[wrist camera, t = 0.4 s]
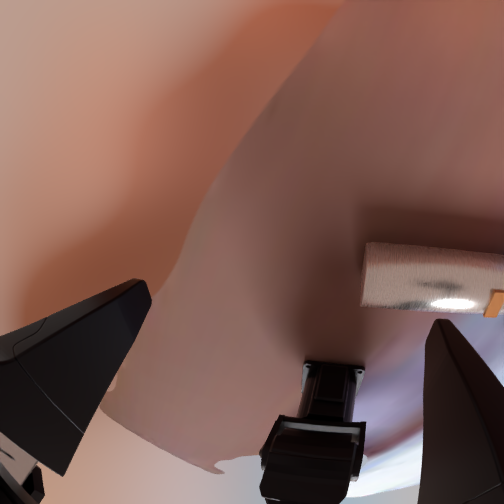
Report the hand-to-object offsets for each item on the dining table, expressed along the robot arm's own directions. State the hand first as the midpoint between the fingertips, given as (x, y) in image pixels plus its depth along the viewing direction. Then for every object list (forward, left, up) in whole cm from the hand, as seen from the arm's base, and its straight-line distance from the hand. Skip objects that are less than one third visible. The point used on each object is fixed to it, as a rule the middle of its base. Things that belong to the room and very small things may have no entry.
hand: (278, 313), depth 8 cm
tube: (-6, -12, -13) cm, 19 cm away
